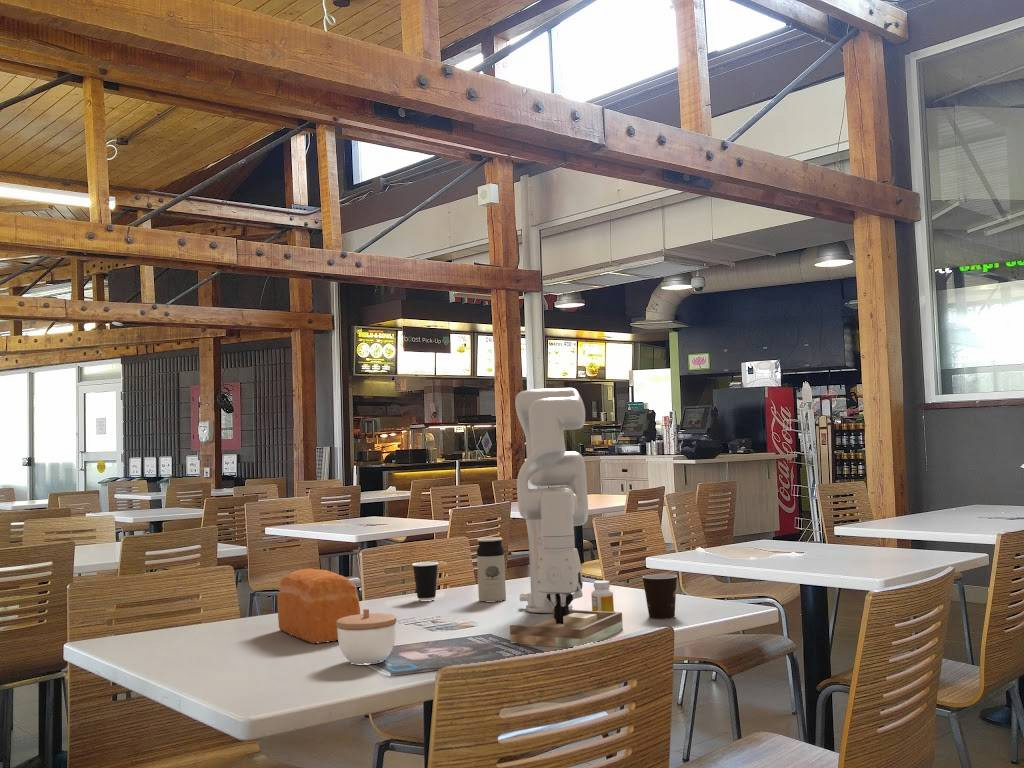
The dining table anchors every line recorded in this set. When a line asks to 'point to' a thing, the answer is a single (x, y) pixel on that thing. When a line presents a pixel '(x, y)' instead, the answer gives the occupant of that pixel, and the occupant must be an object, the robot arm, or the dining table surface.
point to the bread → (315, 604)
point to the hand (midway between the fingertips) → (562, 622)
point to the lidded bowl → (366, 636)
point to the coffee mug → (660, 595)
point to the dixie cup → (425, 579)
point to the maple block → (578, 620)
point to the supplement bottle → (602, 597)
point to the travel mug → (491, 569)
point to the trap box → (567, 631)
